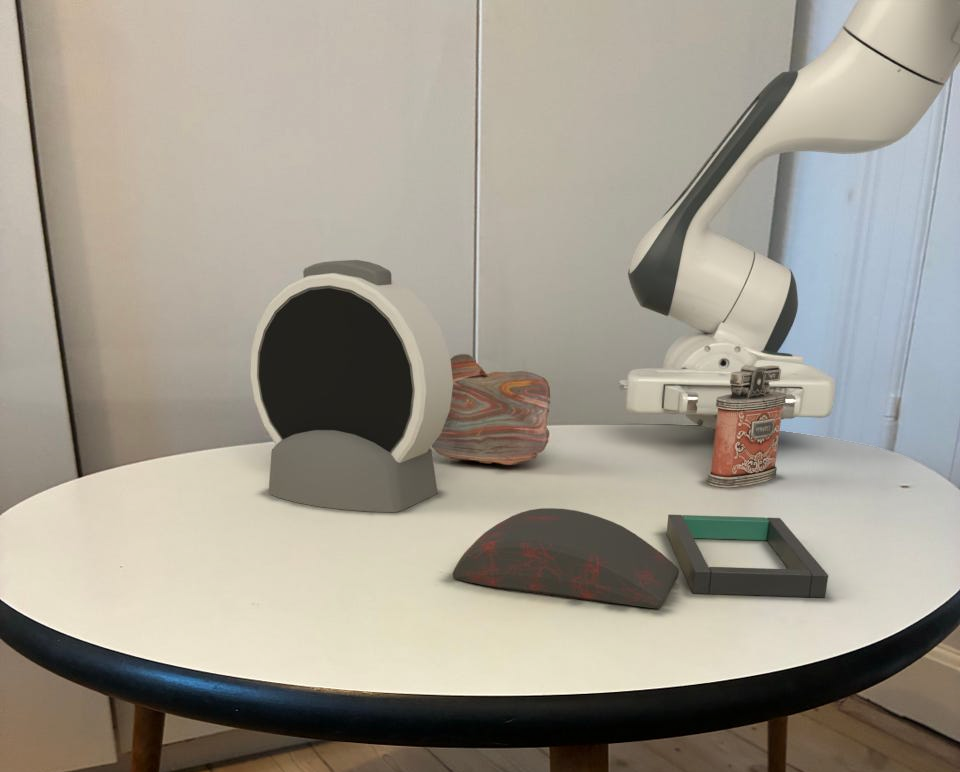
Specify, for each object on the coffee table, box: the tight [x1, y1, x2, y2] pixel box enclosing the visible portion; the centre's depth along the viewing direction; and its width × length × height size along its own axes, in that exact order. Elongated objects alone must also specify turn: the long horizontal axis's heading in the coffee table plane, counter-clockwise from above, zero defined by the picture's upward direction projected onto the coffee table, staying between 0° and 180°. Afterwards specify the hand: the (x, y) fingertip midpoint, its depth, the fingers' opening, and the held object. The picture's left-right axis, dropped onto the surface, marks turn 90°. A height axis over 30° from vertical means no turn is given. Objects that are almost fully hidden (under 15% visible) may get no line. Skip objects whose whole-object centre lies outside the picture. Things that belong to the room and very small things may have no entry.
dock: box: [666, 514, 829, 598], centre depth 69 cm, size 8×13×2 cm, turn 177°
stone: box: [431, 353, 551, 466], centre depth 96 cm, size 13×8×10 cm
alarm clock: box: [249, 259, 453, 513], centre depth 82 cm, size 16×10×18 cm, turn 65°
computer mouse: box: [452, 507, 680, 610], centre depth 65 cm, size 8×14×4 cm, turn 71°
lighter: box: [707, 365, 787, 488], centre depth 91 cm, size 8×3×10 cm, turn 129°
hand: (740, 405), depth 95 cm, fingers open, 8 cm apart
